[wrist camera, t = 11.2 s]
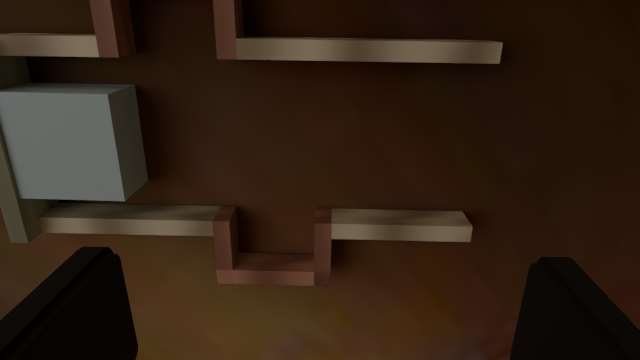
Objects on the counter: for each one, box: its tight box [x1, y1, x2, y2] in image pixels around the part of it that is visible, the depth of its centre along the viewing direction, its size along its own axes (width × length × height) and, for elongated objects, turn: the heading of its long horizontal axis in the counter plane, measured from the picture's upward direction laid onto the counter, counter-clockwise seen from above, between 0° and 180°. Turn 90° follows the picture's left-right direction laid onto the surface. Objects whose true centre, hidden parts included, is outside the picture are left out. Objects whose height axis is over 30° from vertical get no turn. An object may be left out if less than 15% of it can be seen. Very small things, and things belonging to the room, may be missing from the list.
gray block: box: [0, 83, 148, 201], centre depth 28 cm, size 7×7×4 cm
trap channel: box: [0, 0, 503, 286], centre depth 28 cm, size 32×21×4 cm
